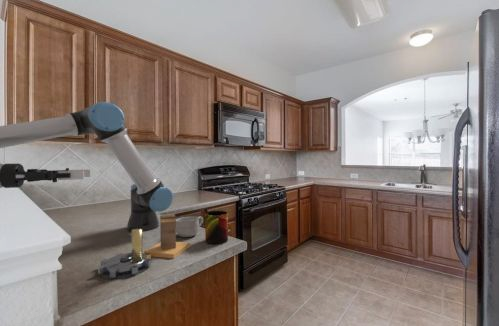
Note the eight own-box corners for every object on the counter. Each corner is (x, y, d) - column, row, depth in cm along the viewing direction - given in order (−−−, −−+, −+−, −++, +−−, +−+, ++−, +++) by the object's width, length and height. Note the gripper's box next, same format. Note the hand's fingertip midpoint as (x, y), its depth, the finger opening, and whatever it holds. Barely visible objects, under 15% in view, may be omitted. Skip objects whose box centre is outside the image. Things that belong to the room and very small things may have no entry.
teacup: (180, 241, 101) (179, 222, 101) (172, 234, 110) (171, 217, 110) (209, 235, 109) (209, 217, 109) (199, 229, 118) (199, 213, 118)
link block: (160, 245, 91) (160, 215, 91) (174, 243, 93) (173, 213, 93) (161, 250, 86) (161, 217, 86) (176, 248, 89) (175, 216, 89)
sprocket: (92, 266, 75) (92, 229, 75) (141, 253, 86) (141, 220, 86) (106, 283, 65) (105, 240, 65) (159, 265, 76) (159, 228, 75)
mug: (223, 233, 111) (223, 208, 111) (230, 243, 98) (229, 214, 98) (203, 235, 108) (203, 209, 108) (206, 245, 95) (206, 216, 95)
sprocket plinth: (124, 257, 84) (124, 256, 84) (159, 260, 81) (159, 259, 81) (87, 276, 70) (87, 275, 70) (128, 281, 67) (128, 280, 67)
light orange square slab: (163, 244, 97) (163, 240, 97) (190, 246, 94) (190, 242, 94) (144, 255, 85) (144, 251, 85) (173, 258, 83) (173, 254, 83)
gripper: (21, 184, 83) (92, 182, 93) (-20, 192, 61) (80, 188, 70) (20, 163, 83) (92, 163, 92) (-20, 163, 61) (80, 163, 70)
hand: (87, 173), depth 81 cm, fingers open, 13 cm apart
